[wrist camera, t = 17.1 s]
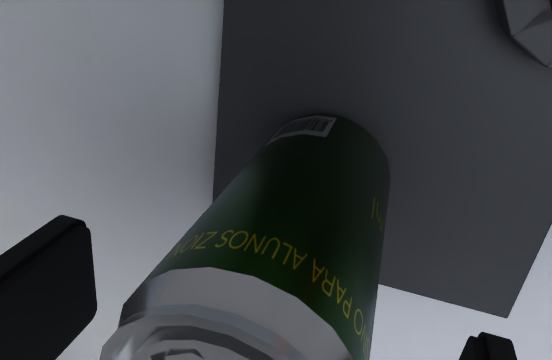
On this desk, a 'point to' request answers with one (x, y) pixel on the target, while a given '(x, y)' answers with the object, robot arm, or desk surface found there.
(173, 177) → the desk surface
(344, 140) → the beer can
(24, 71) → the desk surface
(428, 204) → the scale
